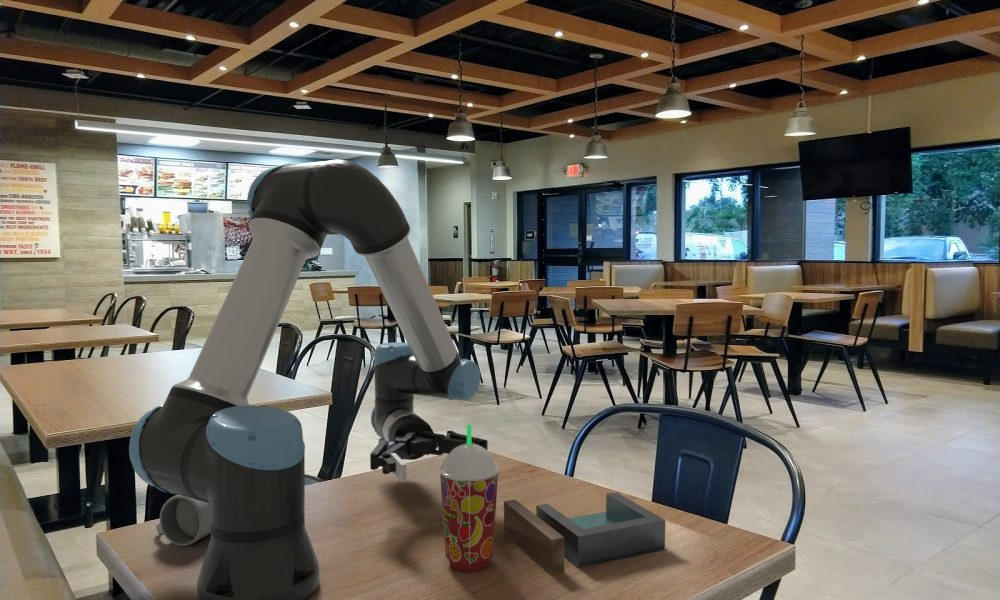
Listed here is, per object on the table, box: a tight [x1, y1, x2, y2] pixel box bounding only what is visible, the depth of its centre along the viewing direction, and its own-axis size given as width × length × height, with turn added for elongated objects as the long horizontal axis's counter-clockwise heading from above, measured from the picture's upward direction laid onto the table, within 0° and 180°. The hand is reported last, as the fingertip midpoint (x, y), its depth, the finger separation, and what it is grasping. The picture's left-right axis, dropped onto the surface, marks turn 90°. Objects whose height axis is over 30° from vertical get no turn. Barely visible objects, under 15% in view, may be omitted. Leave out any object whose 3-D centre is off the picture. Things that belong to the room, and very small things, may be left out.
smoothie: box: [438, 424, 500, 573], centre depth 96 cm, size 8×8×20 cm
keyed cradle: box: [535, 491, 666, 568], centre depth 105 cm, size 15×15×4 cm
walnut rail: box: [503, 499, 565, 576], centre depth 100 cm, size 2×16×5 cm, turn 24°
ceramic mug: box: [155, 494, 211, 547], centre depth 106 cm, size 11×8×8 cm
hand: (446, 467), depth 105 cm, fingers open, 13 cm apart
